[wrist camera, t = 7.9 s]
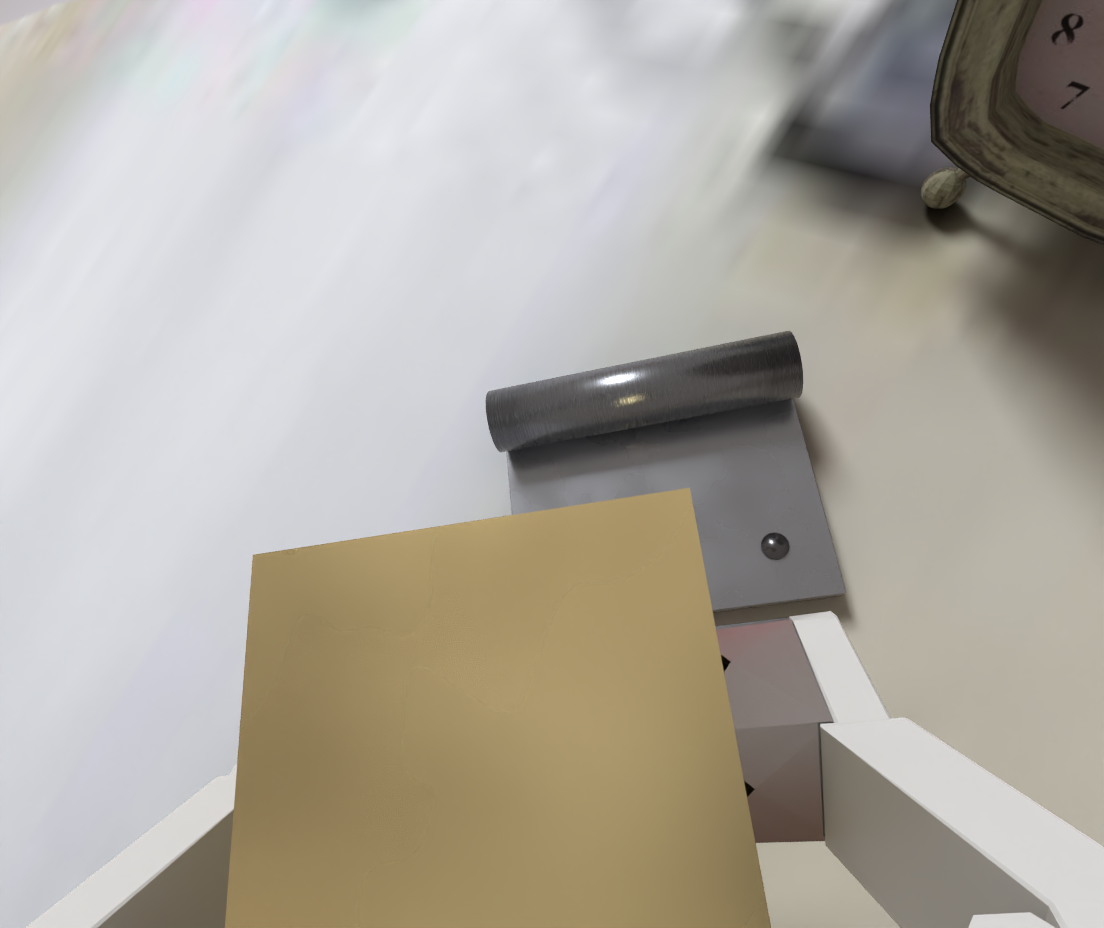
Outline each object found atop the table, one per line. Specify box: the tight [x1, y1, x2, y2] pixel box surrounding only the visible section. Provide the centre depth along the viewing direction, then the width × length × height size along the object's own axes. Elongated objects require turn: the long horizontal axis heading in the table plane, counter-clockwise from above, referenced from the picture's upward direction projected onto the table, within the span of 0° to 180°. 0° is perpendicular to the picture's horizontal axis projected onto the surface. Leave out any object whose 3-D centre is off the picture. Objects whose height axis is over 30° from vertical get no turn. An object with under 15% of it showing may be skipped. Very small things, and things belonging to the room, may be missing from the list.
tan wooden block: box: [225, 488, 771, 928], centre depth 8 cm, size 4×4×8 cm
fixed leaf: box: [486, 331, 846, 612], centre depth 23 cm, size 10×12×4 cm
